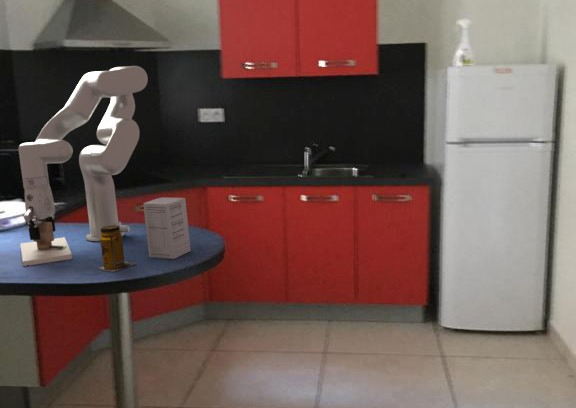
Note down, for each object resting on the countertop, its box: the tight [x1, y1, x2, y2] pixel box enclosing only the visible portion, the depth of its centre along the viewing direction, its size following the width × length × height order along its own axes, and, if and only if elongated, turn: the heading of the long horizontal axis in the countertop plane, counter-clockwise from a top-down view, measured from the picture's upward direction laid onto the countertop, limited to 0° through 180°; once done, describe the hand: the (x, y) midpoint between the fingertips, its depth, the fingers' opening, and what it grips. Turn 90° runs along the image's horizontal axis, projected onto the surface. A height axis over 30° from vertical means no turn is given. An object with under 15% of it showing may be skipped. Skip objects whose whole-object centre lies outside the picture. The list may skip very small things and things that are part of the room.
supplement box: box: [142, 196, 191, 260], centre depth 200 cm, size 10×9×17 cm
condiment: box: [98, 225, 135, 273], centre depth 191 cm, size 7×8×12 cm
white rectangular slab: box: [20, 237, 73, 267], centre depth 210 cm, size 24×14×2 cm, turn 23°
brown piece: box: [33, 221, 63, 250], centre depth 209 cm, size 10×4×8 cm, turn 70°
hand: (43, 235), depth 209 cm, fingers open, 9 cm apart
